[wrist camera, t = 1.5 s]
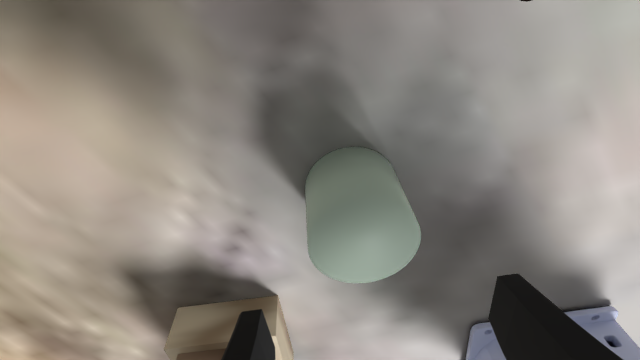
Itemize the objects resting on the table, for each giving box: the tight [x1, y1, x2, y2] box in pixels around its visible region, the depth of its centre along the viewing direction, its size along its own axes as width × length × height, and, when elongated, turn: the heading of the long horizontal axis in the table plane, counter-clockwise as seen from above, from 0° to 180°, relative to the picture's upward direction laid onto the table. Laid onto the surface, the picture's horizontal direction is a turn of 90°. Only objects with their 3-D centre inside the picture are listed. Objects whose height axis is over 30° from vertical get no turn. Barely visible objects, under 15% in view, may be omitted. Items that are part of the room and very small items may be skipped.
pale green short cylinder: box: [305, 147, 421, 283], centre depth 15 cm, size 4×4×4 cm
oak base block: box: [164, 295, 293, 360], centre depth 21 cm, size 6×6×3 cm
